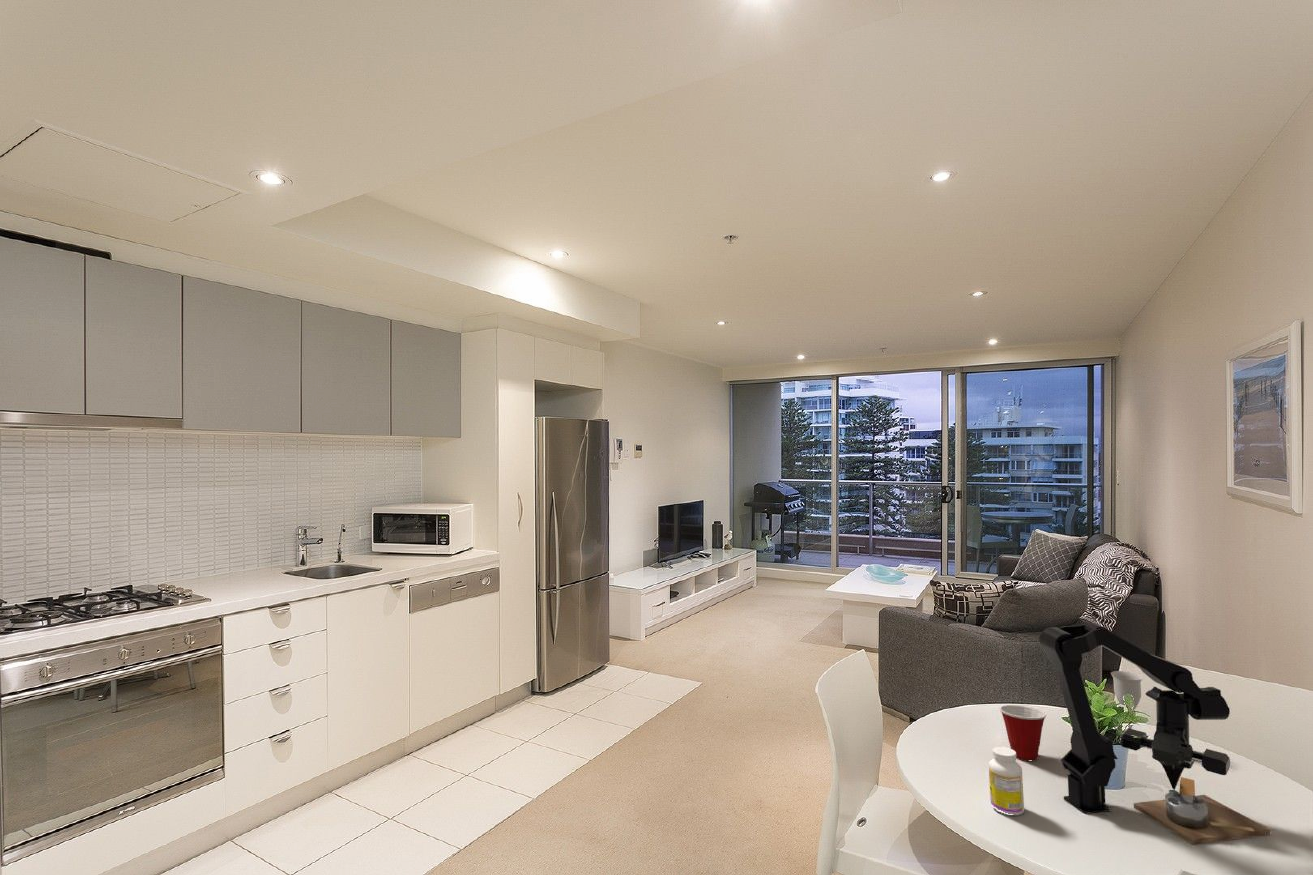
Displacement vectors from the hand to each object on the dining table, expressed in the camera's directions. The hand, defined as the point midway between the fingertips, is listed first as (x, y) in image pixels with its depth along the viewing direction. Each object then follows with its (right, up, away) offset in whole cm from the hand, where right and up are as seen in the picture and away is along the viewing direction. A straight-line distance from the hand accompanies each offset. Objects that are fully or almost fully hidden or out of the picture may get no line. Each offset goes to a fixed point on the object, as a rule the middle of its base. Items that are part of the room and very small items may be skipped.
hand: (1174, 788), depth 147 cm
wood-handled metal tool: (-1, -2, -5) cm, 6 cm away
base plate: (0, -3, -7) cm, 8 cm away
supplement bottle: (-38, -5, 0) cm, 38 cm away
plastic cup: (-20, -5, +24) cm, 32 cm away
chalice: (+12, -4, +30) cm, 32 cm away
